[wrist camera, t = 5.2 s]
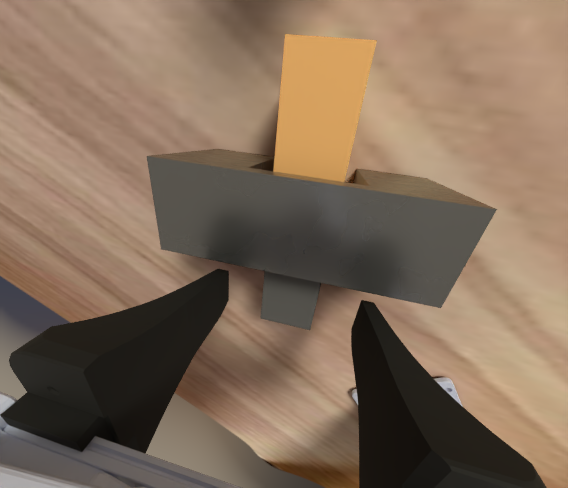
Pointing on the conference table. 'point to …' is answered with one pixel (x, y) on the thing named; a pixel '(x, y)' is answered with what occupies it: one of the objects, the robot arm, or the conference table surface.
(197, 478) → the robot arm
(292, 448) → the conference table surface
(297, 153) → the orange and grey bar
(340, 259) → the grey rectangular block
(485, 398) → the conference table surface
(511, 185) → the conference table surface
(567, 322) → the conference table surface
